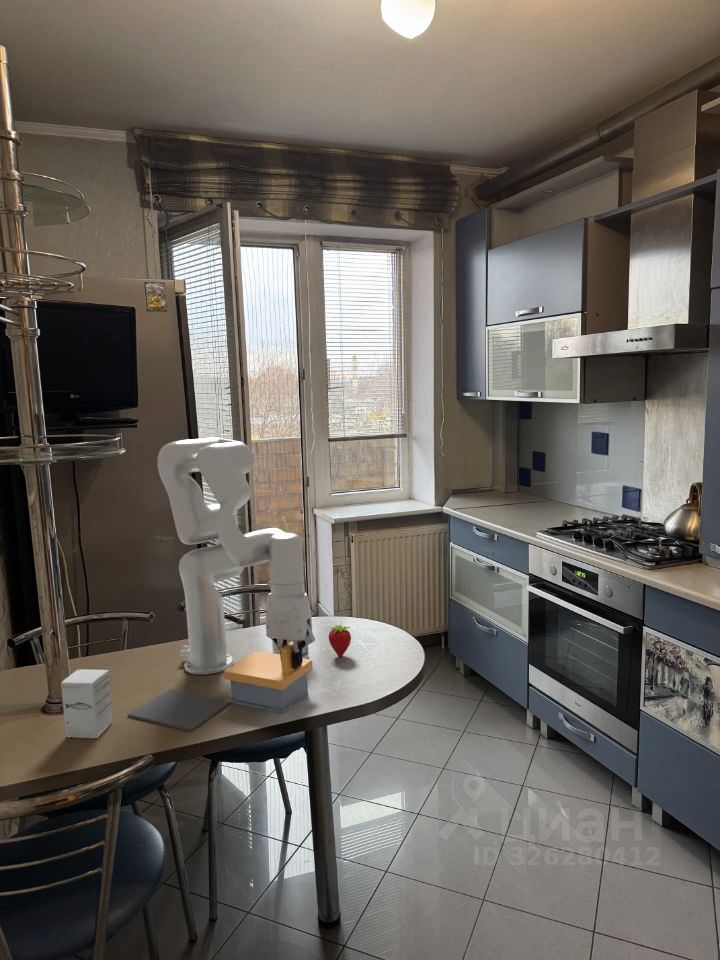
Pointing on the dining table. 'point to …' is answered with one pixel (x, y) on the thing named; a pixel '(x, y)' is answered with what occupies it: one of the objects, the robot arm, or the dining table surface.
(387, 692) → the dining table surface
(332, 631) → the strawberry
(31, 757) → the dining table surface
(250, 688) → the parts tub
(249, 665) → the lid
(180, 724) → the mat
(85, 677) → the supplement box
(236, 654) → the dining table surface
